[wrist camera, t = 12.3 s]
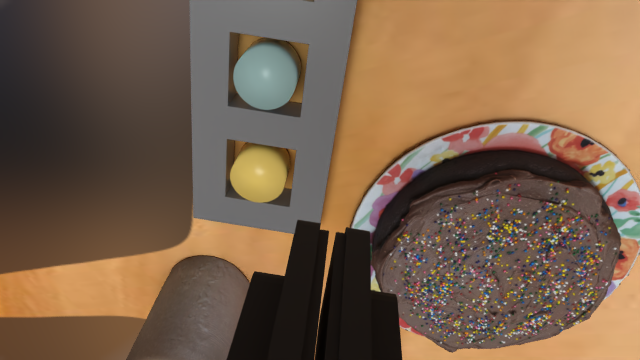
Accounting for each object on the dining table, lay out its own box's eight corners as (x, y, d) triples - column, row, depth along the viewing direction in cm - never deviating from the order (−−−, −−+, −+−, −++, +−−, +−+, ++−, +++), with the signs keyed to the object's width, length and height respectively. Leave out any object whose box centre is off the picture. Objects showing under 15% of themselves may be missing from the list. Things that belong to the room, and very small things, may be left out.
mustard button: (292, 141, 41) (287, 160, 38) (287, 186, 44) (282, 206, 41) (240, 133, 41) (230, 151, 38) (238, 178, 44) (229, 197, 41)
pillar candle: (166, 304, 55) (107, 428, 42) (172, 244, 49) (107, 365, 37) (246, 323, 55) (211, 450, 43) (260, 265, 50) (225, 391, 37)
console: (380, -142, 30) (381, -146, 28) (320, 219, 46) (317, 237, 43) (201, -169, 30) (186, -176, 28) (203, 200, 46) (193, 217, 43)
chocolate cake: (691, 257, 45) (737, 307, 39) (453, 367, 56) (462, 418, 51) (539, 46, 36) (571, 73, 30) (293, 229, 47) (283, 272, 42)
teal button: (304, 42, 36) (298, 54, 34) (297, 98, 39) (292, 114, 36) (244, 33, 36) (234, 44, 34) (242, 89, 39) (232, 104, 36)
